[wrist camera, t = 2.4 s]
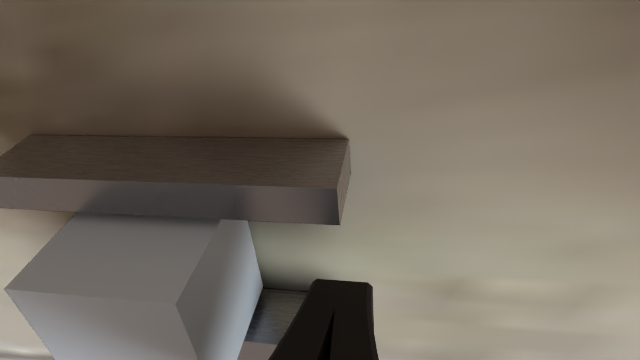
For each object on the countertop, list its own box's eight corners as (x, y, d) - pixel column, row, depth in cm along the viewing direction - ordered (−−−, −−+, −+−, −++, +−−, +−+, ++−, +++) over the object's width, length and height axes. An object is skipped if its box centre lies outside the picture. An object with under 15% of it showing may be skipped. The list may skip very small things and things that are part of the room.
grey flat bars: (348, 139, 11) (336, 188, 9) (359, 316, 15) (351, 372, 13) (29, 135, 13) (-27, 175, 11) (113, 294, 16) (81, 342, 15)
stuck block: (239, 185, 12) (175, 304, 9) (263, 286, 14) (219, 410, 11) (106, 180, 13) (3, 289, 10) (149, 277, 15) (78, 390, 12)
